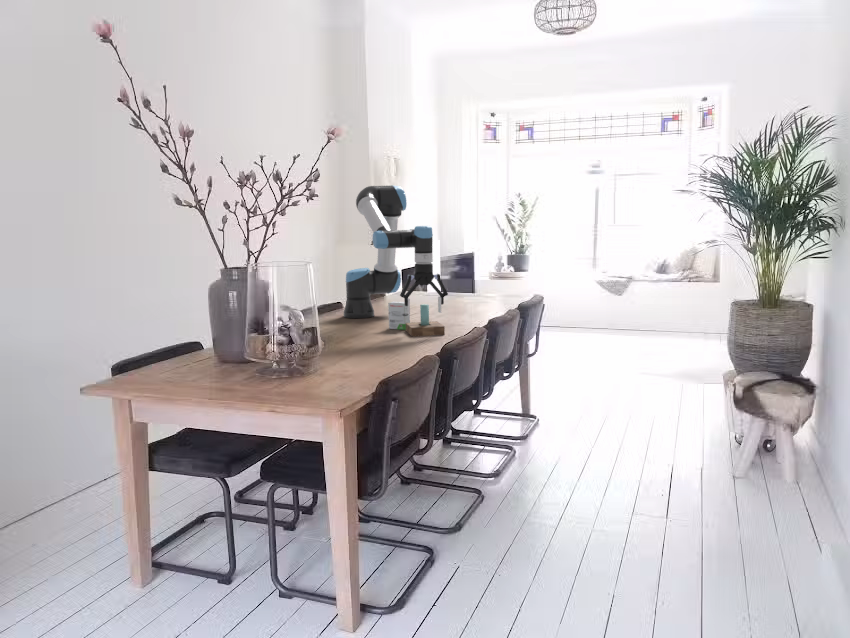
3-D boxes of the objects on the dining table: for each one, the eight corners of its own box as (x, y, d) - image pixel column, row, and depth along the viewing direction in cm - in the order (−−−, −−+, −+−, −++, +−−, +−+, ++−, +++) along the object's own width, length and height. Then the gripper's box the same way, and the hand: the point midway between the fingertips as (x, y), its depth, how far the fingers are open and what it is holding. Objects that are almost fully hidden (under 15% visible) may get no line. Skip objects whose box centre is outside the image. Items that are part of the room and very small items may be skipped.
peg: (420, 332, 302) (419, 304, 301) (428, 331, 303) (427, 304, 301) (421, 333, 299) (421, 305, 297) (430, 333, 300) (429, 305, 298)
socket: (405, 330, 307) (405, 322, 306) (437, 329, 309) (437, 321, 309) (411, 336, 293) (411, 328, 292) (444, 334, 296) (444, 326, 295)
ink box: (410, 328, 312) (410, 302, 310) (405, 330, 308) (404, 303, 306) (394, 327, 317) (393, 301, 315) (388, 328, 312) (387, 302, 310)
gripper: (395, 264, 290) (396, 315, 294) (454, 262, 295) (454, 312, 299) (392, 263, 298) (393, 312, 301) (450, 261, 303) (450, 310, 306)
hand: (424, 312), depth 300 cm, fingers open, 13 cm apart
